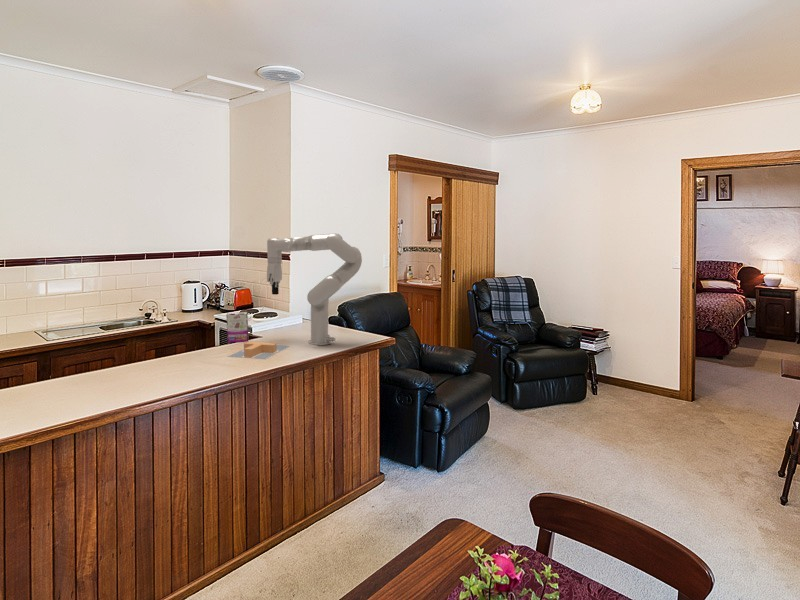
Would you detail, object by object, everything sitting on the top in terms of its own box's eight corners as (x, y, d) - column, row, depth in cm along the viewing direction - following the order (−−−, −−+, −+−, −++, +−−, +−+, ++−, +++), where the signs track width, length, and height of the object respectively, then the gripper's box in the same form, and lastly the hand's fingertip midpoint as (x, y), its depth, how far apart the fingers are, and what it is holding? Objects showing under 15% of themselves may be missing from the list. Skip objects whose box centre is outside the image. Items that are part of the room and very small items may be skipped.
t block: (276, 351, 266) (276, 343, 266) (263, 358, 252) (262, 350, 251) (247, 349, 269) (247, 341, 269) (233, 356, 255) (232, 348, 254)
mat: (290, 346, 279) (290, 345, 279) (265, 360, 250) (265, 359, 250) (256, 344, 283) (256, 343, 283) (227, 357, 254) (227, 356, 254)
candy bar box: (248, 340, 293) (247, 311, 291) (248, 342, 288) (247, 313, 286) (227, 341, 290) (226, 312, 288) (227, 343, 285) (226, 313, 283)
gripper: (274, 260, 291) (274, 292, 293) (262, 261, 276) (262, 295, 279) (286, 260, 290) (287, 293, 292) (275, 261, 275) (275, 296, 277)
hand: (275, 294), depth 285 cm, fingers closed
